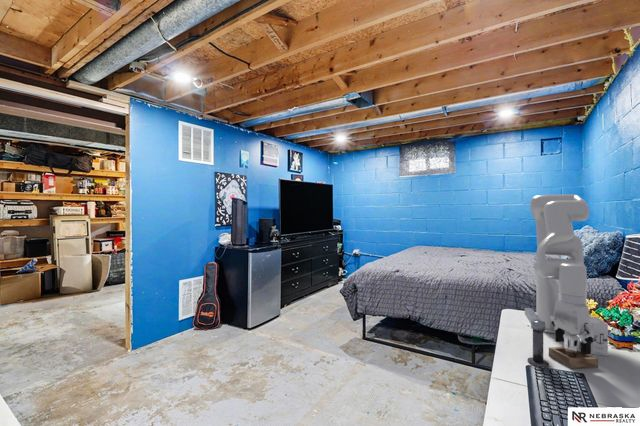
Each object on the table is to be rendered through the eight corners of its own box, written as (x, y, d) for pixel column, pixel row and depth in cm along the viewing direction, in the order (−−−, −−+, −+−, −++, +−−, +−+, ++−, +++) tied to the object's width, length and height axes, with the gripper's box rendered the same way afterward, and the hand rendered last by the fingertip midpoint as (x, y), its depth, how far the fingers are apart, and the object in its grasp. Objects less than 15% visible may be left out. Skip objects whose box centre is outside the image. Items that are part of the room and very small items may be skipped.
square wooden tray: (572, 354, 111) (572, 346, 111) (598, 367, 102) (598, 358, 102) (548, 355, 111) (548, 347, 111) (572, 369, 101) (572, 360, 101)
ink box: (580, 344, 120) (580, 314, 120) (596, 346, 118) (596, 316, 118) (591, 354, 112) (591, 322, 112) (608, 356, 110) (608, 324, 110)
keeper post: (539, 358, 108) (539, 325, 108) (553, 367, 102) (553, 332, 102) (523, 359, 108) (523, 326, 108) (536, 368, 102) (536, 333, 102)
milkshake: (585, 364, 103) (586, 335, 103) (567, 362, 105) (567, 333, 104) (577, 357, 108) (577, 329, 108) (560, 356, 109) (560, 328, 109)
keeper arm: (546, 331, 102) (546, 324, 102) (532, 329, 104) (532, 322, 104) (534, 315, 119) (534, 308, 119) (522, 313, 120) (522, 307, 120)
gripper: (542, 292, 115) (542, 337, 115) (586, 307, 97) (586, 360, 97) (560, 291, 115) (560, 336, 115) (607, 306, 98) (607, 358, 98)
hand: (572, 347), depth 106 cm, fingers open, 9 cm apart
